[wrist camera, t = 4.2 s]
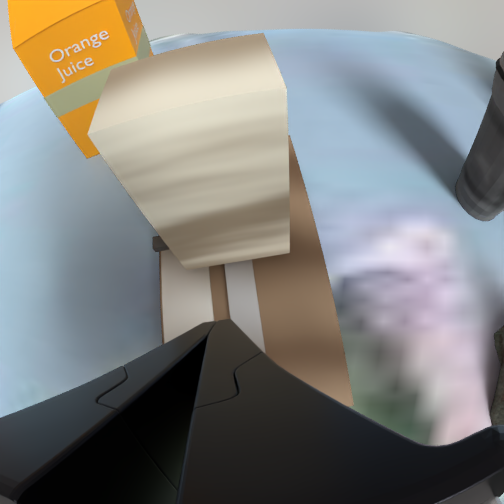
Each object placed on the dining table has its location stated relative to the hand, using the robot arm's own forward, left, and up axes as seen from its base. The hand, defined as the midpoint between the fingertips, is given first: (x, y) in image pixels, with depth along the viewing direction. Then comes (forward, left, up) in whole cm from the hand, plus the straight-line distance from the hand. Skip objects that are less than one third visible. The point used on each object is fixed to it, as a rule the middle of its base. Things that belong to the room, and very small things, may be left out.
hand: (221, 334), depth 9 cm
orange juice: (+10, +24, -10) cm, 28 cm away
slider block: (+5, +6, -8) cm, 11 cm away
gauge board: (+4, +4, -10) cm, 11 cm away
